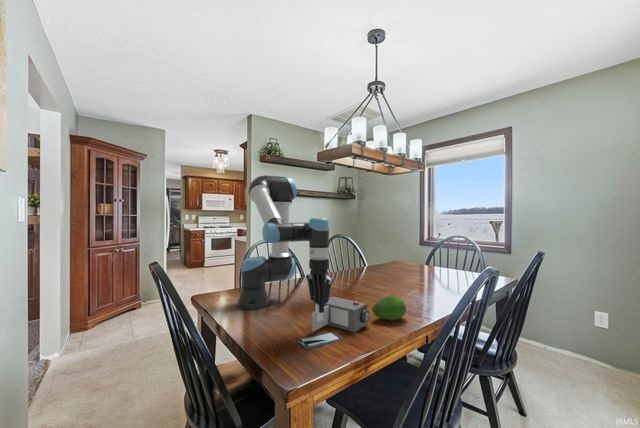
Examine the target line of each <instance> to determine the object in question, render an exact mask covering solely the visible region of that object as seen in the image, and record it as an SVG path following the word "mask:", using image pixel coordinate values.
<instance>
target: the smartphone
mask: <svg viewBox="0 0 640 428" xmlns="http://www.w3.org/2000/svg"><path fill="white" fill-rule="evenodd" d="M340 341H343V337H341V336H340V335H339V334H337V333H335V332H334V331H329V332H324V333H320V334H316V335H312V336H307V337H302V338H298V339H297V342H298V343H299V345H301V346H302V347H303V348H304V349H306V350H311V349H315V348H319V347H322V346H326V345H330V344H334V343H336V342H340Z"/></svg>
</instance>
